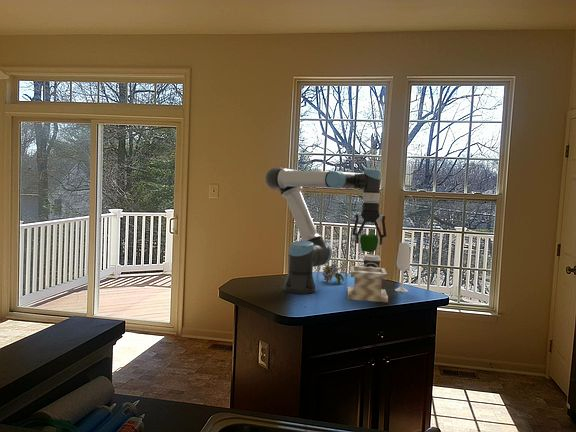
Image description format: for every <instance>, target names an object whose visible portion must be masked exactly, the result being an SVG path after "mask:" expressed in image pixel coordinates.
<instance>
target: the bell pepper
mask: <svg viewBox="0 0 576 432" xmlns="http://www.w3.org/2000/svg"><path fill="white" fill-rule="evenodd" d="M375 232H376V231H375V230H373V229H372V230H369V232H368V234H366V233H364V234H360V250H362V251H363V252H367V253H374V252H375V251H376V250H377V247H378V238H379V236H378V235H377V234H372V233H375Z"/></svg>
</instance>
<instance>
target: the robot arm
mask: <svg viewBox="0 0 576 432" xmlns="http://www.w3.org/2000/svg"><path fill="white" fill-rule="evenodd" d="M264 179H265V184H266V185H267V187H269V188H270V189H272V190H275V191H279V192H280V195H281V197H282V198H284V199H285V200H286V202H287V203H286V204H287V206H288V208H289V210H290V212H291V215H292V218H293V220H294V223H295V225H296V228H297V230H298V232H299V235H300V238H301V240H298V241H294V242H292V243H290V245H289V250H288V271H287V272H288V274H287V276H286V279H285V282H284V285H283V291H285V292H287V293H291V294H298V295H300V294H301V295H309V294H313V293H315V292H316V284H315V280H314V276H313V272H314V271H313V269H314V267H322V266H323V265H326V264H328V263H329V262H330V261H331V259H332V255H333V249H332V246H331V244H329V243H328V242H326V241H324V238H323V236H322V235H321V234H319V233H318V231H317V228H316V226H315V224H314V222H313V221H314V220H313V219H312V216H311V213H310V211H309V208H308V205H307V204H306V201H305V199H304V196H303V194H302V191H303V188H330V189H346V190H350V189H351V190H354V189H355V190H362V201H363V202H362V209H361V210H362V211H361V213H356V214H354V215H355V222H354V225H353V230H352V235H353V236H355V238H356V239H355V243H356V244H358V246H357V251H358V252H360V250H361V244H360V237H361V232H362V231H363V229H364V227H365V224H366V223H373V224H374V225H375V228H376V231H377V233H378V244H377V247H376V250H377V251H376V252H377V253H380V246H382V244H383V238H385V237H387V229H386V222H385V220H386V215H385V214H384V215H383V214H380V212H379V210H380V204H379V202H380V195H381V193H380V192H381V191H380V190H381V180H382V179H381V170H380V169H378V168H365V169H364V171H363V172H348V171H339V170H334V171H332V170H331V171H328V170H326V171H323V170H319V171H317V170H297V169H296V168H291V167H288V168H287V167H286V168H285V167H279V166H275V167H272V168H270V169H269V170H268V171H267V172H266V173H265V178H264ZM361 217H362V219H363V221H362V222H361V225H360V226H359V228H358V231H357V227H358V224H359V219H361ZM379 218H380V221H381V225H382V233H381V229H380V227H379V224H378V221H377V220H378V219H379Z"/></svg>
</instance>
